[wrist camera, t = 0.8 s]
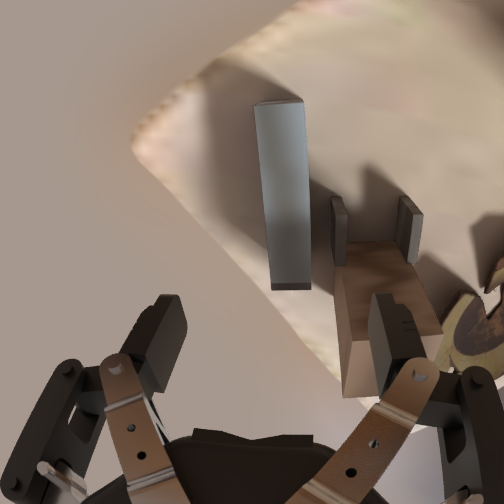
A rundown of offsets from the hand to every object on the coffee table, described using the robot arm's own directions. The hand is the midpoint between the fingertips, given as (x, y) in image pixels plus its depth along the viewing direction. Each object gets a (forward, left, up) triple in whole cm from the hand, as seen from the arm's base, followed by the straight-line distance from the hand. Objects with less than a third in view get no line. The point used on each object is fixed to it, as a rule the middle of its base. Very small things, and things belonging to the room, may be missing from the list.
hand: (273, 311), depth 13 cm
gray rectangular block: (0, +1, -20) cm, 20 cm away
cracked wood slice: (-30, +17, -20) cm, 40 cm away
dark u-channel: (-8, +8, -19) cm, 23 cm away
